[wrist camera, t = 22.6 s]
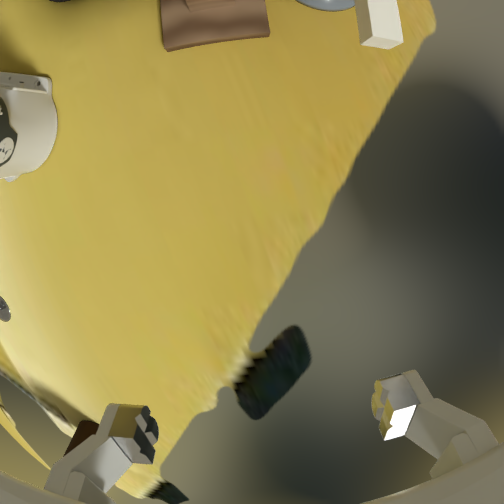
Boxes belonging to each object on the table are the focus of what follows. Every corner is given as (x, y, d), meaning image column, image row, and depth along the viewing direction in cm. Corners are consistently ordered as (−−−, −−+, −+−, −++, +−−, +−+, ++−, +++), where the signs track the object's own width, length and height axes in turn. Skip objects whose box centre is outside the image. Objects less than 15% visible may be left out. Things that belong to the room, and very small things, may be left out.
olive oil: (100, 419, 60) (72, 499, 37) (119, 442, 64) (98, 517, 41) (70, 417, 61) (40, 488, 38) (90, 440, 65) (66, 507, 41)
